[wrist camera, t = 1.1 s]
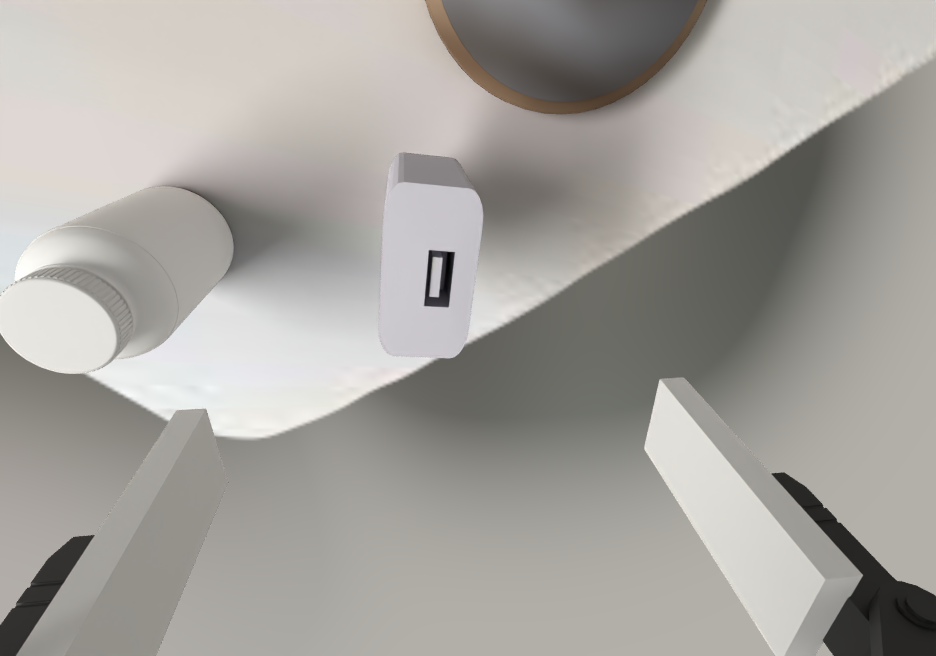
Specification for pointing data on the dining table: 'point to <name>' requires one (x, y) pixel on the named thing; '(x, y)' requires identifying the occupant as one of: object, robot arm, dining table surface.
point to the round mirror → (562, 47)
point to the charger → (428, 257)
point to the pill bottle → (115, 280)
